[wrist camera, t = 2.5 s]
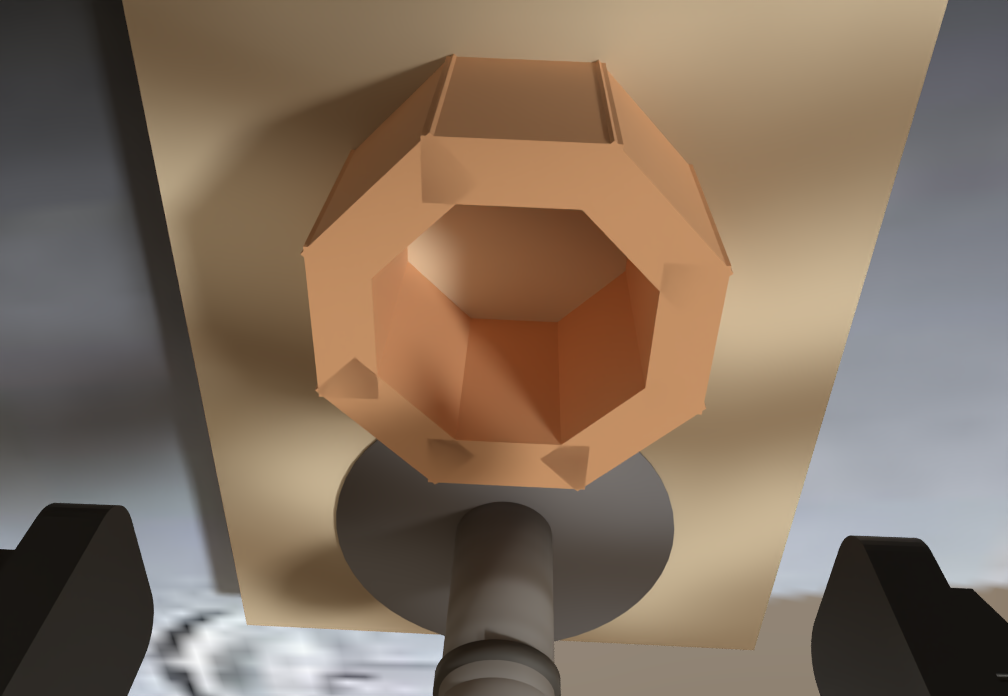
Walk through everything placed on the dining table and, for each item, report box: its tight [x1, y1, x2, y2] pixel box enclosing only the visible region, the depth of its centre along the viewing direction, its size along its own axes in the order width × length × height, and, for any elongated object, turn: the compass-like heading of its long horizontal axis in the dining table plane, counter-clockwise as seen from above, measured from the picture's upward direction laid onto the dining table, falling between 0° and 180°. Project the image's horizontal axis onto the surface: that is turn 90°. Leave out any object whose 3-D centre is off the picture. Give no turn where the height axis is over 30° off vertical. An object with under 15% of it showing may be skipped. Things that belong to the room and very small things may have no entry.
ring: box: [301, 54, 733, 491], centre depth 15 cm, size 6×6×4 cm
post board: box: [122, 0, 948, 696], centre depth 17 cm, size 17×14×8 cm
